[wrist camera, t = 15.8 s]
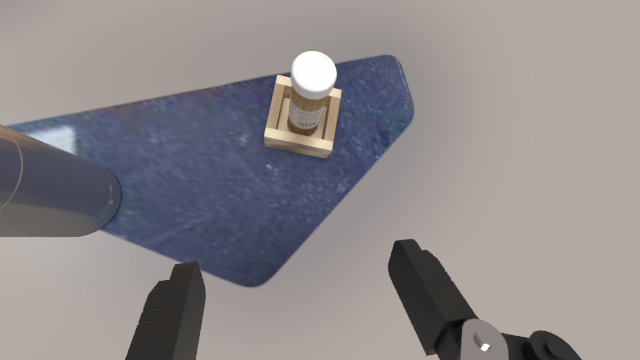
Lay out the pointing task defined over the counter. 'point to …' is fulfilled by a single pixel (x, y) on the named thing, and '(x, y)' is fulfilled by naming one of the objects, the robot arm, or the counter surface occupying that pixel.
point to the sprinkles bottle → (309, 91)
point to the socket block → (286, 140)
